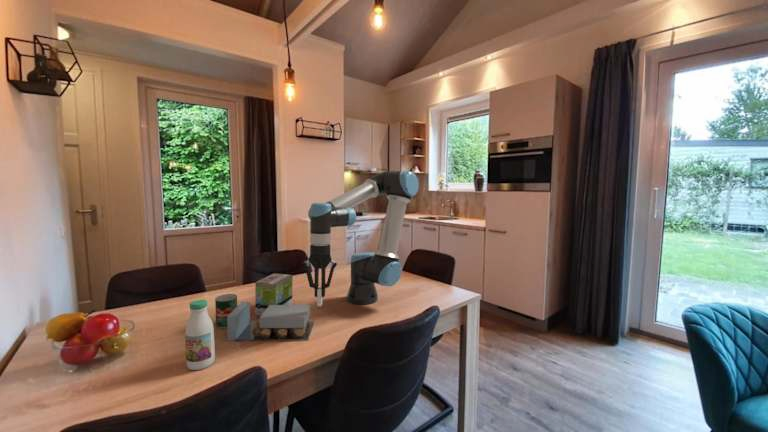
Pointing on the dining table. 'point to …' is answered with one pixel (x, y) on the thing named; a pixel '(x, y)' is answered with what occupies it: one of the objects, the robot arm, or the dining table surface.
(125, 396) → the dining table surface
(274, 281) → the tea box
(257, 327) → the roller
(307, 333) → the roller bed
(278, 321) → the slab
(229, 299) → the canned tomato
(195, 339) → the milk bottle
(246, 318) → the block
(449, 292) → the dining table surface
